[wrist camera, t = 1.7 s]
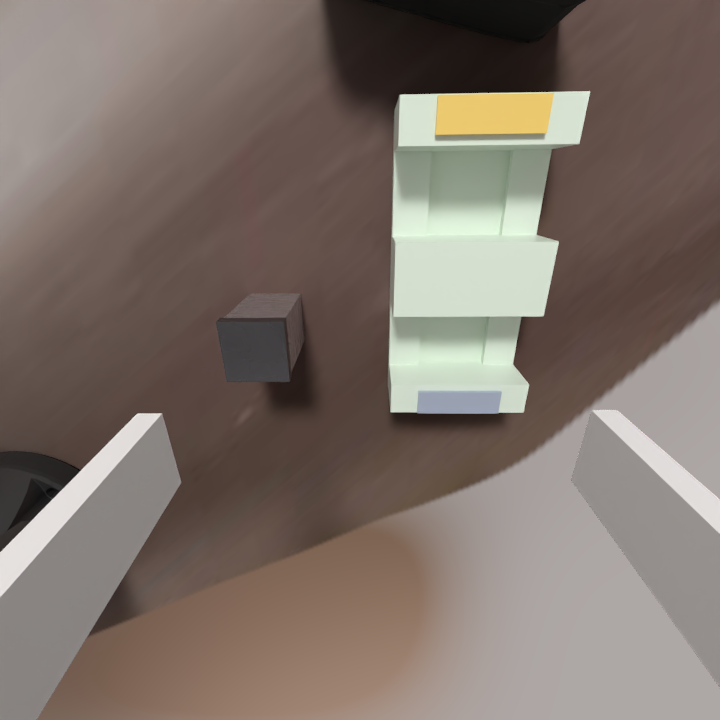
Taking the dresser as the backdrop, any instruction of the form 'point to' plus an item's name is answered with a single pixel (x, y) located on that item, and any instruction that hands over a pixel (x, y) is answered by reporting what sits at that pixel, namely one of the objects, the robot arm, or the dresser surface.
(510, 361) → the socket block
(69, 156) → the dresser surface
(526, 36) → the film camera
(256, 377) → the plug
